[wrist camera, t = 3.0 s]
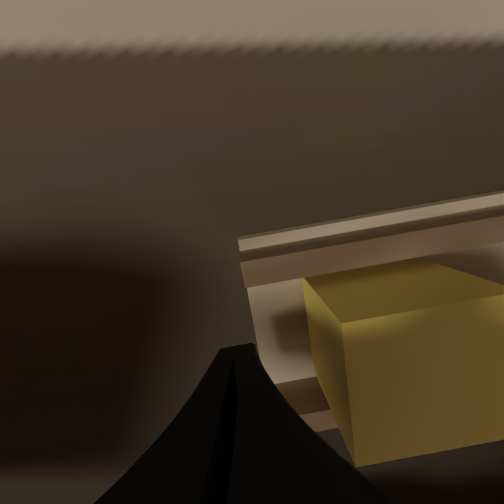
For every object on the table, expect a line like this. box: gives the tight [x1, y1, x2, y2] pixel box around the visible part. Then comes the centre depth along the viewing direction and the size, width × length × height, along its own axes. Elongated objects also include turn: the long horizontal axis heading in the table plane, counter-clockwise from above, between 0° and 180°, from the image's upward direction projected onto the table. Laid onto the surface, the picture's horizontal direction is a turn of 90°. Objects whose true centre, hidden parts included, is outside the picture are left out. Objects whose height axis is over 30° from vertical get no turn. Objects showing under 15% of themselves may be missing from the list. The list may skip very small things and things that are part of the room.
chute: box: [238, 190, 504, 432], centre depth 11 cm, size 9×22×4 cm, turn 100°
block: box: [302, 257, 504, 467], centre depth 9 cm, size 5×5×4 cm
